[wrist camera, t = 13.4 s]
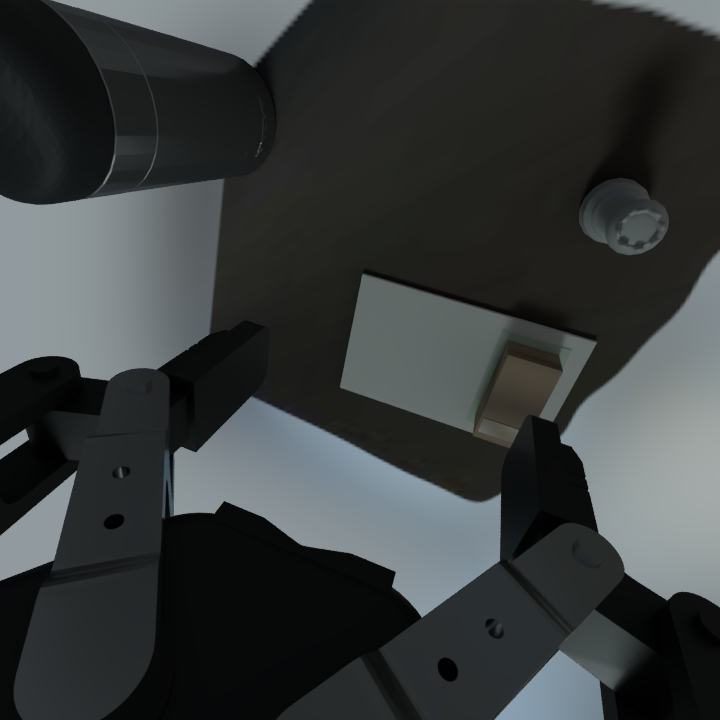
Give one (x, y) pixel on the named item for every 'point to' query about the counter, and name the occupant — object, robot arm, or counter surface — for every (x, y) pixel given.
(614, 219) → the rook chess piece
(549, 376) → the brown rectangular block
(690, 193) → the counter surface
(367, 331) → the grey mat
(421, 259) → the counter surface
